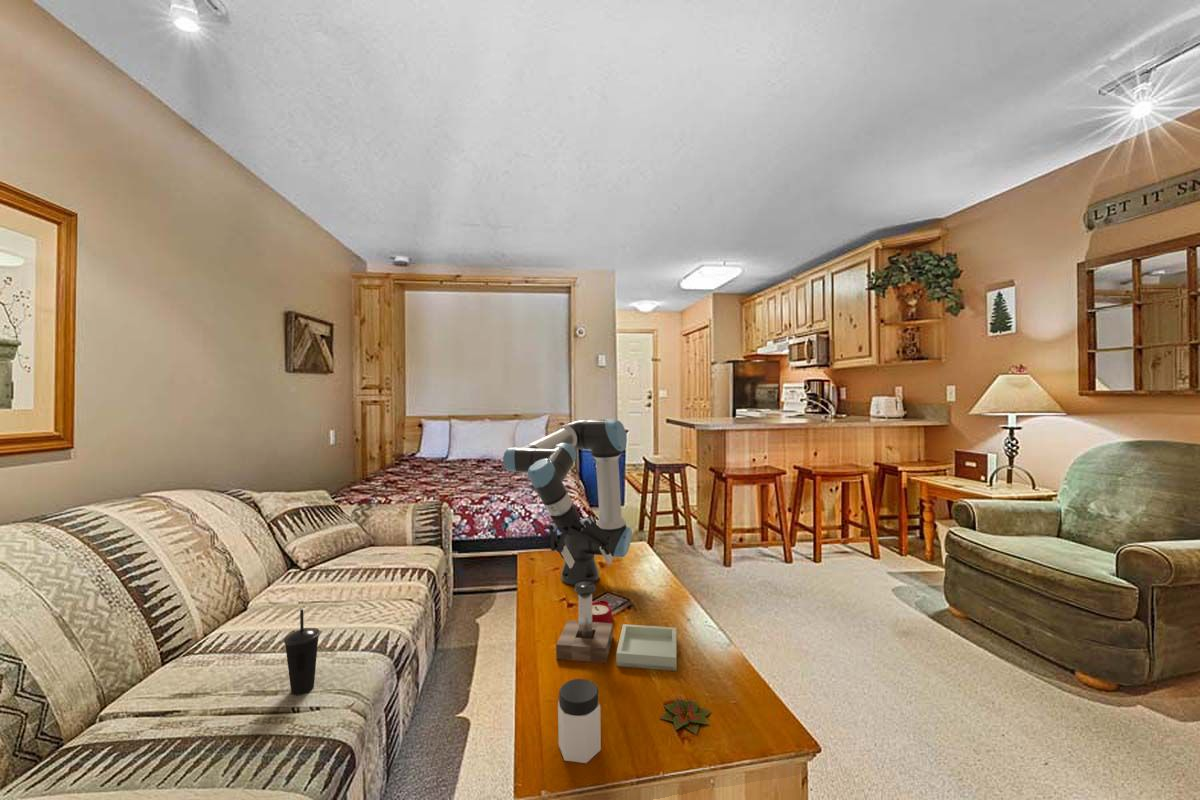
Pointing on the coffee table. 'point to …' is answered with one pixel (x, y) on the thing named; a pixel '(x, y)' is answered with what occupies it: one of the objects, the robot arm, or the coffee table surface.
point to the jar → (579, 720)
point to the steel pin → (585, 608)
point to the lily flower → (687, 707)
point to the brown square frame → (585, 643)
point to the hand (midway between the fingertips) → (591, 563)
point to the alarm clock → (601, 612)
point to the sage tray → (647, 647)
